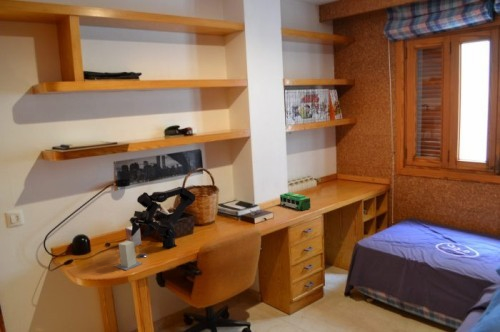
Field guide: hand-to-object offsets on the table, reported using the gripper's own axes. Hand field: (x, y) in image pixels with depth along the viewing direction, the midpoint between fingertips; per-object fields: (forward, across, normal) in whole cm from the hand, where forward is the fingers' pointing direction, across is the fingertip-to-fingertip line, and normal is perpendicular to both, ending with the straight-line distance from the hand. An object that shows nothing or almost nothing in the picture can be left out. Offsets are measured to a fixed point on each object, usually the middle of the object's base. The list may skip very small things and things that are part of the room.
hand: (137, 236), depth 219 cm
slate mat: (+15, 0, +4) cm, 15 cm away
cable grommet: (+6, -4, +13) cm, 15 cm away
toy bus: (-80, +30, +100) cm, 131 cm away
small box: (-2, -24, +22) cm, 33 cm away
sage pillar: (+14, 0, +4) cm, 15 cm away
